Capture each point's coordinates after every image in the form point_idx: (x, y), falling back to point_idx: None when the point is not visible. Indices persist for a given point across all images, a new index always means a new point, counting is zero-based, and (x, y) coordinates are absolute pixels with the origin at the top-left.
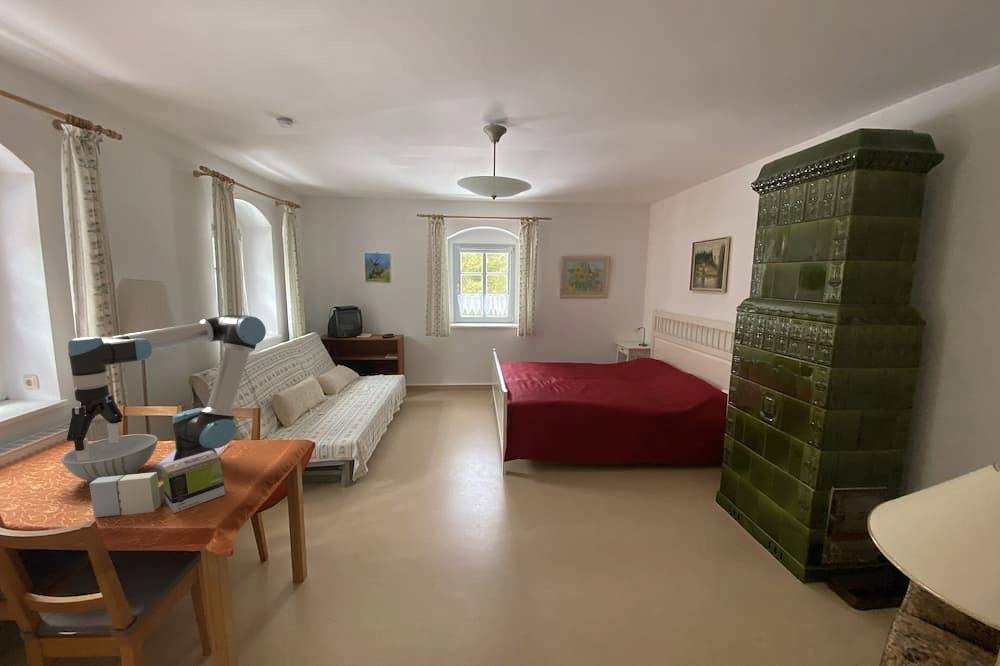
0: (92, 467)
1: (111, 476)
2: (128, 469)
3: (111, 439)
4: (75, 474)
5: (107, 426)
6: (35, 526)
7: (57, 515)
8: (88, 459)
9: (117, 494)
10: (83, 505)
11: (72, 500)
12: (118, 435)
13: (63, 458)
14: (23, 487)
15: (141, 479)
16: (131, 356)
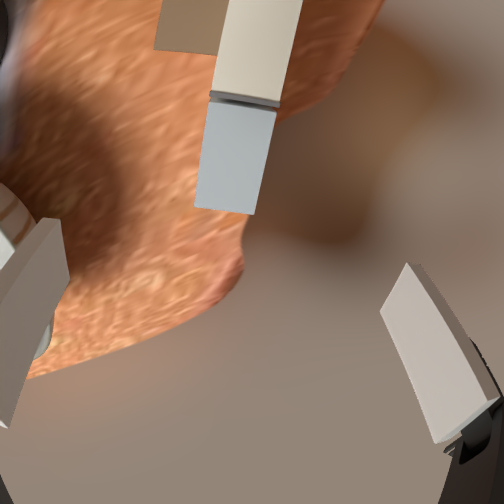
0: None
1: (202, 154)
2: (10, 191)
3: (56, 284)
4: None
5: (14, 405)
6: (228, 273)
7: (185, 256)
8: (419, 264)
9: None
10: (144, 224)
11: (109, 262)
12: (25, 256)
13: None
14: (54, 356)
15: (301, 4)
16: None
